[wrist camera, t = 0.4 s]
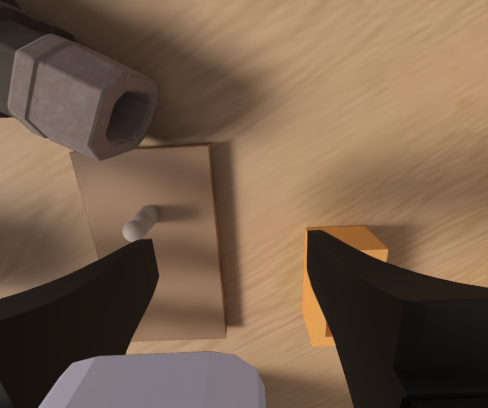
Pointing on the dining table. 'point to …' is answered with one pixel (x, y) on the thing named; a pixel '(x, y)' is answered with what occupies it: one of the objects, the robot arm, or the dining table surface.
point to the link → (311, 309)
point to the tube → (70, 88)
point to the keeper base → (162, 231)
